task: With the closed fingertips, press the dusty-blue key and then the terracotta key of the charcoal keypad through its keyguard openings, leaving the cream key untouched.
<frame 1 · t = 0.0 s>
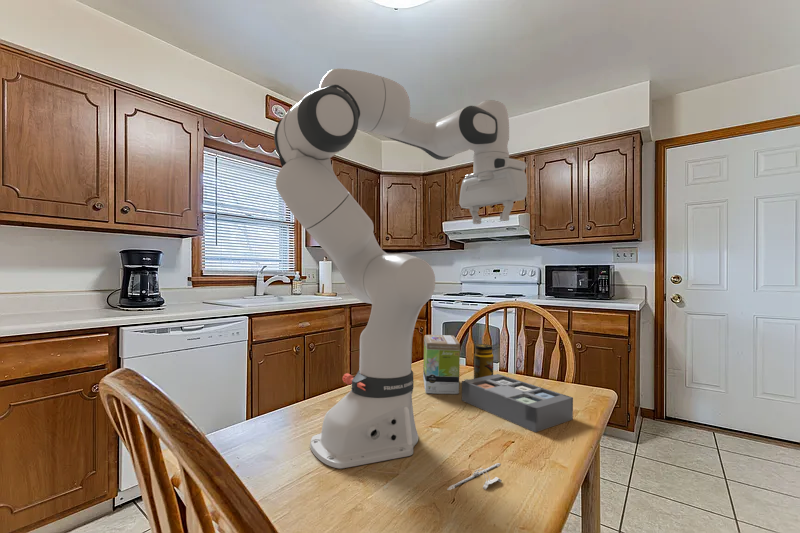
hand: (490, 222, 100), 48 cm above the table, fingers open, 8 cm apart
picture light: (483, 484, 67), on the table
key sage: (525, 403, 93), point 4 cm above the table, slide at 0.0 cm
key grey: (504, 385, 108), point 4 cm above the table, slide at 0.0 cm
key terracotta: (485, 389, 104), point 4 cm above the table, slide at 0.0 cm
key blue: (544, 398, 97), point 4 cm above the table, slide at 0.0 cm
tea box: (440, 387, 119), on the table
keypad: (513, 409, 101), on the table
condiment: (480, 384, 123), on the table
key cream: (523, 391, 103), point 4 cm above the table, slide at 0.0 cm
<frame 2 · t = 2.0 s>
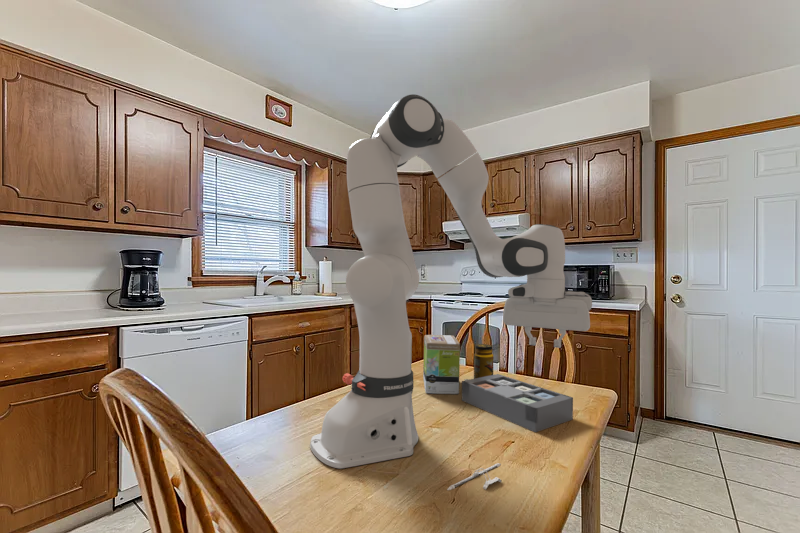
hand: (544, 346, 97), 17 cm above the table, fingers open, 4 cm apart
nothing on the table moved.
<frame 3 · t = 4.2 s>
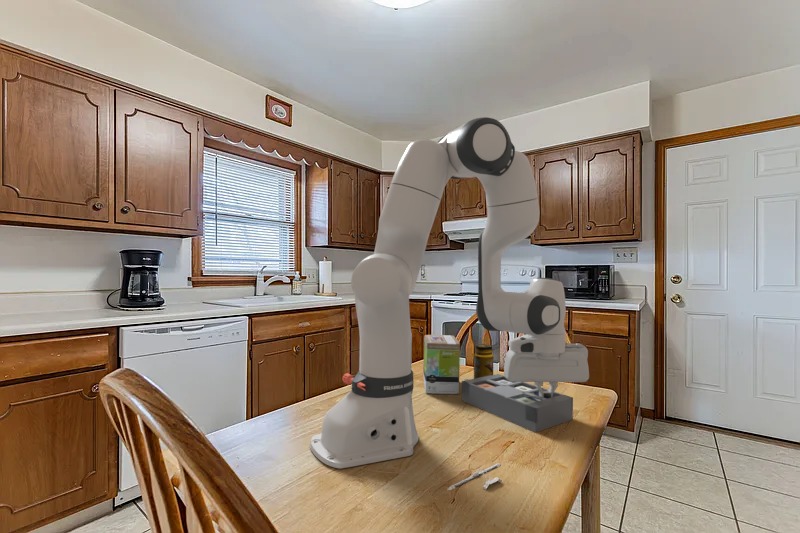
hand: (545, 399, 97), 4 cm above the table, fingers closed, pressing on key blue
key blue: (544, 402, 97), point 3 cm above the table, slide at 0.8 cm, touching gripper
everything else where it was.
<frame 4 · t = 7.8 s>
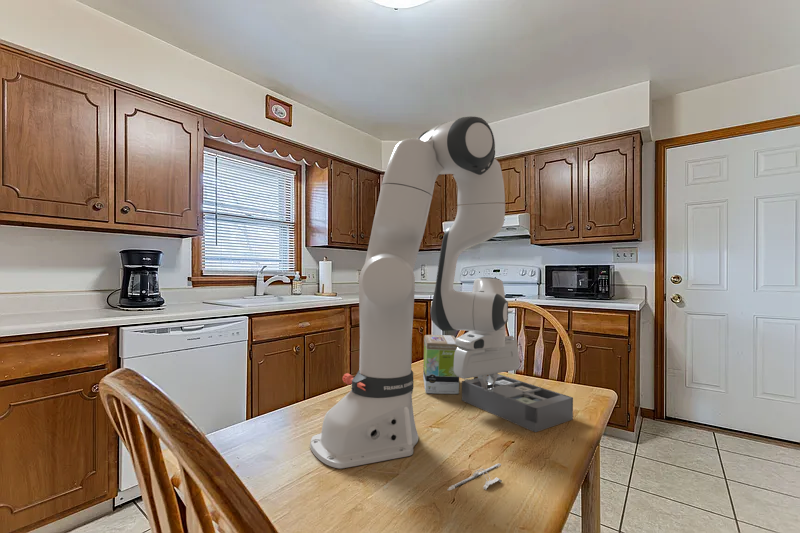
hand: (487, 390, 104), 4 cm above the table, fingers closed, pressing on key terracotta
key terracotta: (485, 393, 104), point 3 cm above the table, slide at 1.1 cm, touching gripper
key blue: (544, 403, 97), point 3 cm above the table, slide at 1.2 cm
everything else where it was.
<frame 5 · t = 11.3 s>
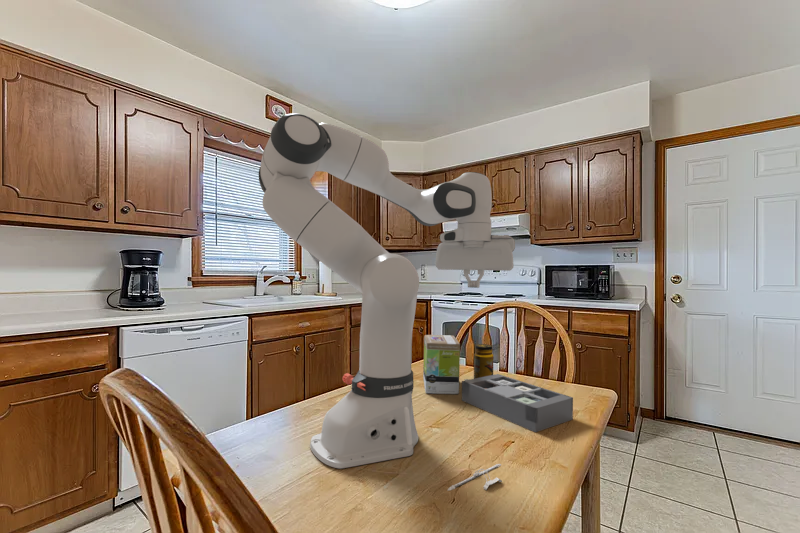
hand: (473, 287, 104), 31 cm above the table, fingers closed
key terracotta: (485, 393, 104), point 3 cm above the table, slide at 1.2 cm, touching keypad
everything else where it was.
at the end: key blue slide at 1.2 cm; key terracotta slide at 1.2 cm; key cream slide at 0.0 cm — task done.
